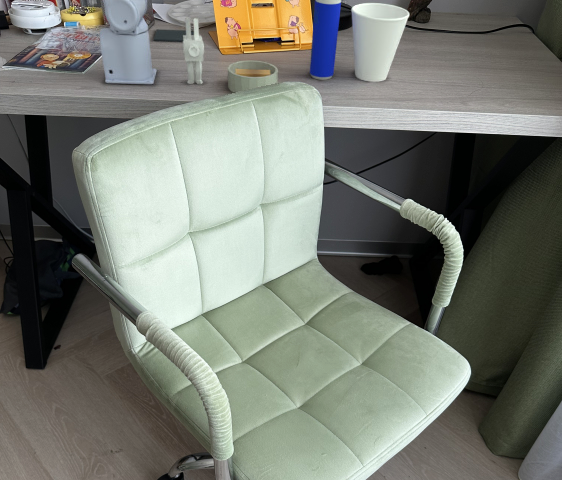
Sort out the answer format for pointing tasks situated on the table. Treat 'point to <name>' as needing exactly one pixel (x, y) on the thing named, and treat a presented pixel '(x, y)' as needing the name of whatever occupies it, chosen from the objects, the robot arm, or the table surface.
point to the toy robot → (193, 52)
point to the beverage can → (324, 38)
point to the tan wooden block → (252, 72)
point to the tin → (245, 82)
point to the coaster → (170, 35)
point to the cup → (376, 38)
